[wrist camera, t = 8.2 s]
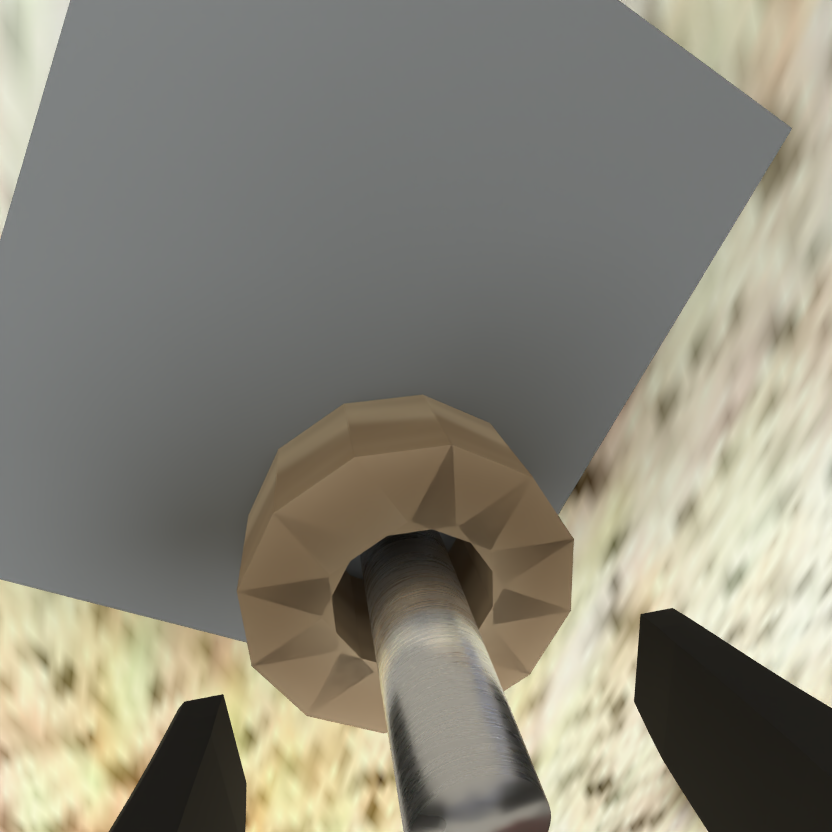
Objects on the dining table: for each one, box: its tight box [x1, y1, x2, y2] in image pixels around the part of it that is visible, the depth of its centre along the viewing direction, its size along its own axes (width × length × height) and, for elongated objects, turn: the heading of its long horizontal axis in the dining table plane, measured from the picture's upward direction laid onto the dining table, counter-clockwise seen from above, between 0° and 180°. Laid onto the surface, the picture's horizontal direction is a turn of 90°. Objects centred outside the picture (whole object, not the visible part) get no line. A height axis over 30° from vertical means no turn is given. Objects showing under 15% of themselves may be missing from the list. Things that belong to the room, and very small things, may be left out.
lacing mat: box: [0, 0, 792, 642], centre depth 14 cm, size 14×17×1 cm
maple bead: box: [237, 394, 574, 733], centre depth 14 cm, size 7×7×3 cm
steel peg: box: [360, 529, 551, 832], centre depth 12 cm, size 2×2×8 cm
